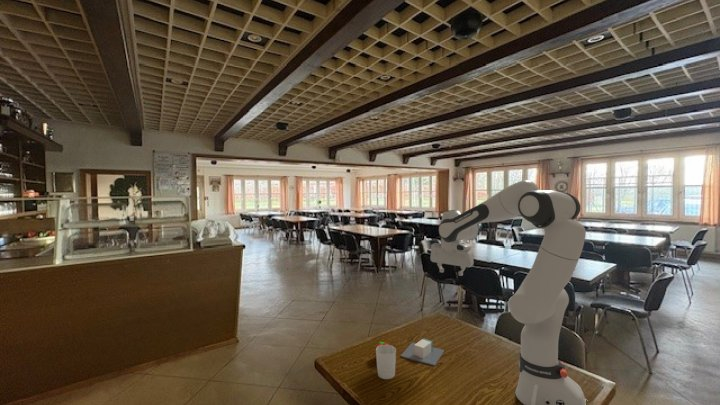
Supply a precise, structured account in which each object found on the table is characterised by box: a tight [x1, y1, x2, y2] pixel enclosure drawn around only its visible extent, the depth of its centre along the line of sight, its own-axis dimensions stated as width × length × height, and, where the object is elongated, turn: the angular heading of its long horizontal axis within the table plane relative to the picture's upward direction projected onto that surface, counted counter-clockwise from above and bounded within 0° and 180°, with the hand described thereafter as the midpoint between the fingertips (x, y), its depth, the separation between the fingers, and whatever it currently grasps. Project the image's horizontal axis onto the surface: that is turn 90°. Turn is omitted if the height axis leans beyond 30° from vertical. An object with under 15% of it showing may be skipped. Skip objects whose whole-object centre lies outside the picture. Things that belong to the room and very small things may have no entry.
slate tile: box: [400, 341, 445, 367], centre depth 139 cm, size 15×14×1 cm
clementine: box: [376, 341, 390, 348], centre depth 135 cm, size 8×7×7 cm
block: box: [414, 338, 434, 358], centre depth 138 cm, size 4×4×8 cm
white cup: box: [375, 344, 397, 380], centre depth 123 cm, size 8×8×10 cm
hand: (451, 273), depth 147 cm, fingers open, 8 cm apart
